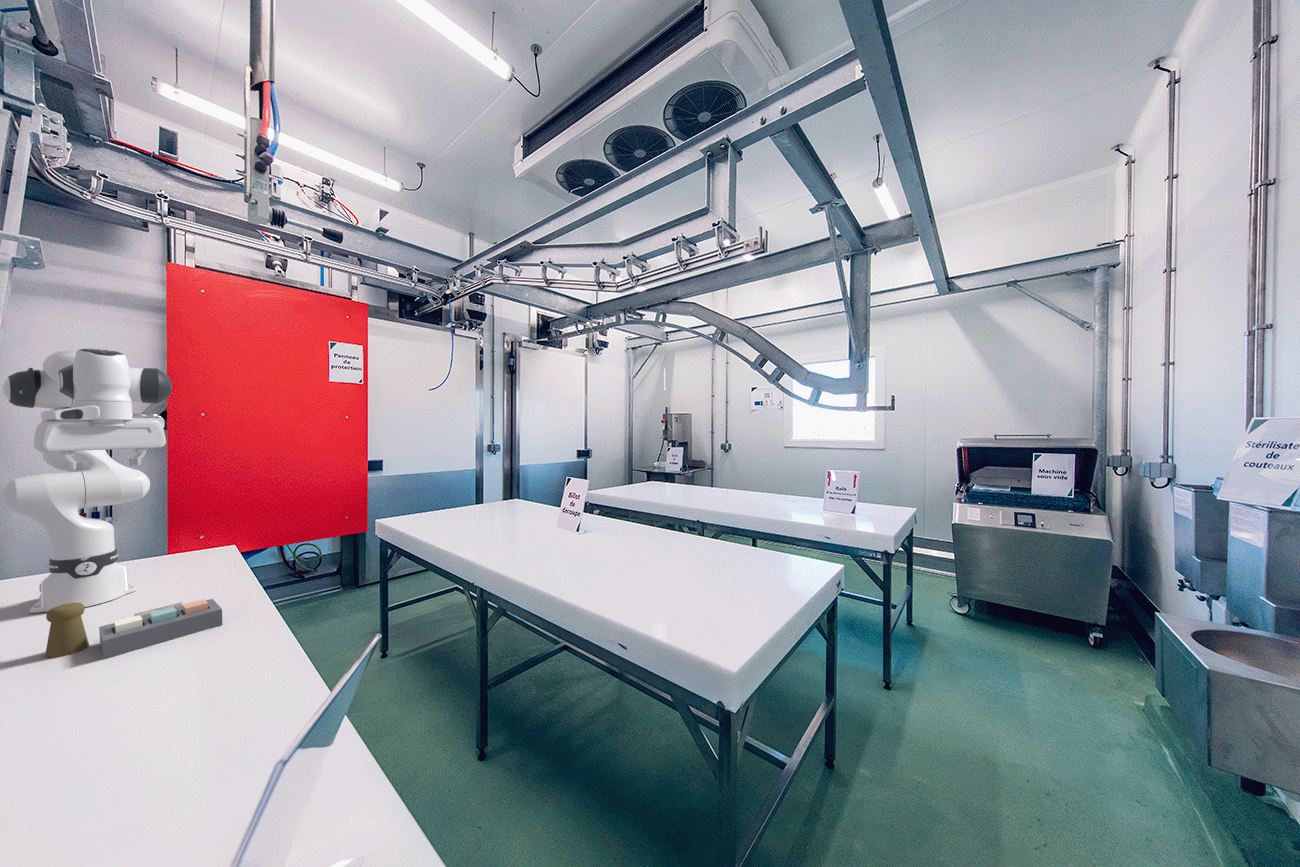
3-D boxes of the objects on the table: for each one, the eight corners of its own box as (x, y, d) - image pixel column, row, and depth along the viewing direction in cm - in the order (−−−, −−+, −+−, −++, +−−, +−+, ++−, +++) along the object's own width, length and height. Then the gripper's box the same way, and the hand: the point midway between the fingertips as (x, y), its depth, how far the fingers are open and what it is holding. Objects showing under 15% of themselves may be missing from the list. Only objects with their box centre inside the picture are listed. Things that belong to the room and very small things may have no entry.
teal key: (150, 624, 103) (149, 612, 103) (174, 617, 107) (173, 606, 107) (152, 628, 101) (152, 617, 101) (177, 622, 105) (176, 610, 104)
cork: (55, 659, 93) (53, 612, 92) (37, 656, 94) (35, 609, 94) (96, 645, 99) (94, 600, 98) (78, 642, 100) (76, 598, 100)
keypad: (99, 641, 100) (98, 621, 100) (211, 611, 116) (210, 594, 116) (103, 659, 93) (102, 637, 93) (222, 624, 109) (221, 606, 109)
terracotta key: (182, 615, 108) (182, 604, 108) (204, 609, 111) (204, 599, 111) (185, 619, 106) (185, 608, 106) (208, 613, 109) (207, 602, 109)
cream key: (114, 633, 99) (113, 621, 99) (140, 626, 102) (140, 614, 102) (116, 638, 97) (115, 626, 97) (142, 631, 100) (142, 619, 100)
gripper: (157, 414, 114) (159, 463, 115) (28, 412, 95) (31, 471, 95) (170, 413, 112) (172, 463, 113) (41, 412, 93) (44, 472, 93)
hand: (106, 467), depth 104 cm, fingers open, 8 cm apart
